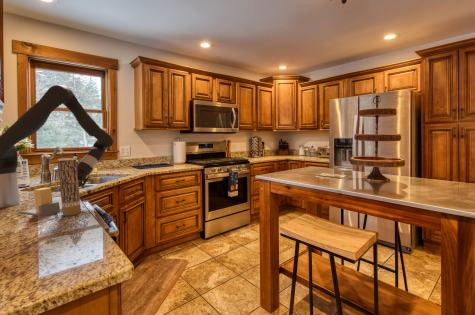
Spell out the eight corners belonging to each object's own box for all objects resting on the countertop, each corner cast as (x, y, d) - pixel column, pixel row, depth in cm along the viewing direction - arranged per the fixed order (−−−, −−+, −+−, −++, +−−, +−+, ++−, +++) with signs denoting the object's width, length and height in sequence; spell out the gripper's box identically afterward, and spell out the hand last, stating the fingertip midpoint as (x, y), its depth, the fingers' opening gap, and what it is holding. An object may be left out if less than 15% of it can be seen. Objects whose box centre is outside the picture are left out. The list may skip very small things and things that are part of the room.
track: (19, 213, 113) (17, 203, 113) (36, 209, 120) (35, 199, 120) (42, 217, 106) (41, 206, 106) (60, 212, 113) (58, 202, 112)
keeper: (36, 213, 110) (33, 189, 109) (47, 210, 114) (45, 187, 114) (42, 214, 109) (40, 190, 108) (53, 211, 113) (51, 188, 112)
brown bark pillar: (64, 213, 112) (59, 158, 110) (82, 210, 115) (77, 157, 112) (61, 217, 106) (55, 159, 103) (79, 214, 108) (74, 158, 106)
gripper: (72, 161, 129) (50, 186, 120) (90, 161, 124) (69, 188, 114) (83, 169, 135) (63, 195, 125) (100, 170, 129) (81, 196, 119)
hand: (66, 191), depth 120 cm, fingers open, 8 cm apart
